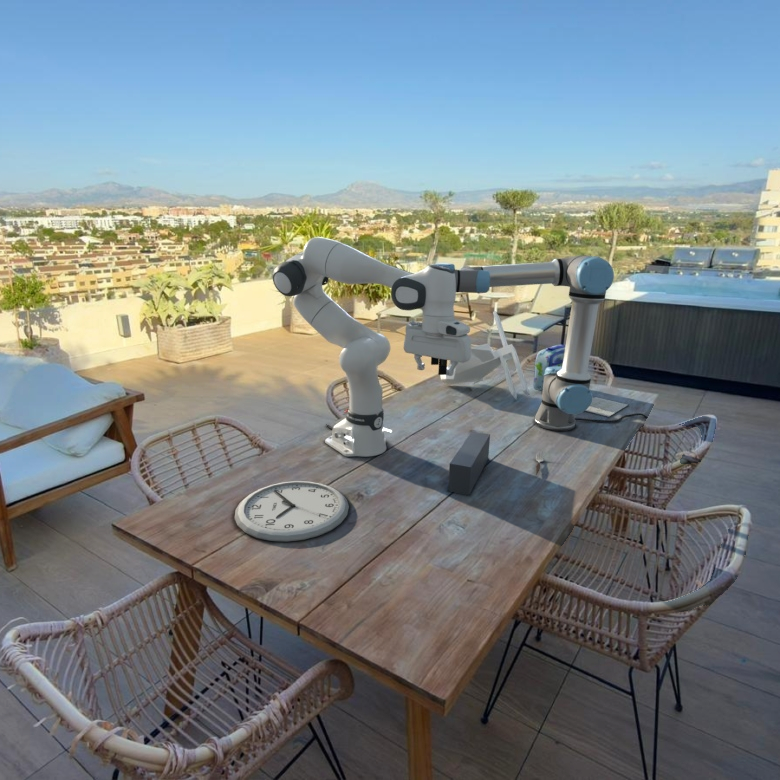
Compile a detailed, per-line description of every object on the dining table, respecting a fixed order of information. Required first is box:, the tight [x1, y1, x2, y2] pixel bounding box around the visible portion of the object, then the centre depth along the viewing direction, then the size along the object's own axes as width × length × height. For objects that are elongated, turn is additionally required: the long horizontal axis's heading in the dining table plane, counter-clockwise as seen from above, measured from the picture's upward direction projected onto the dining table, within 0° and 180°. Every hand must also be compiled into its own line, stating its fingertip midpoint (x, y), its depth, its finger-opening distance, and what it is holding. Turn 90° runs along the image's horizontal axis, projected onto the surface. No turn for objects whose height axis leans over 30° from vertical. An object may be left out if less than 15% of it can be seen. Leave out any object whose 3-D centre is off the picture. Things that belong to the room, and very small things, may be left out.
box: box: [447, 431, 491, 496], centre depth 161 cm, size 27×6×9 cm, turn 158°
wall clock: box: [234, 480, 350, 543], centre depth 140 cm, size 30×2×30 cm
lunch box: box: [533, 344, 566, 392], centre depth 247 cm, size 26×11×21 cm, turn 134°
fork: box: [535, 451, 546, 476], centre depth 168 cm, size 3×16×2 cm, turn 160°
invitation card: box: [584, 396, 629, 418], centre depth 226 cm, size 21×1×15 cm
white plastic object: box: [439, 310, 531, 400], centre depth 245 cm, size 37×45×31 cm
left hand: (435, 372), depth 150 cm, fingers open, 8 cm apart
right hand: (438, 369), depth 185 cm, fingers open, 13 cm apart
